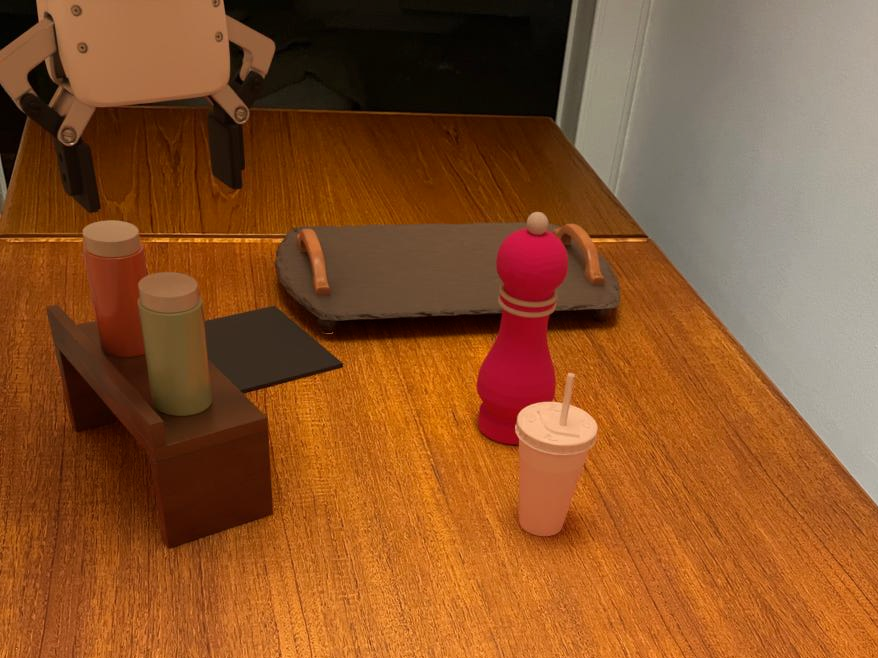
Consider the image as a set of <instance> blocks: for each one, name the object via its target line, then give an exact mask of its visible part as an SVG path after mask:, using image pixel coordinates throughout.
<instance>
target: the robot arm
mask: <svg viewBox="0 0 878 658" xmlns="http://www.w3.org/2000/svg"><path fill="white" fill-rule="evenodd" d="M35 1H36V9H37V17H38V22H37V23H36V24H34V25H33V26H31V27H30V28H29V29H28V30H27V31H25V32H24V33H22V34H21V35H19V36H18V37H17V38H15V39H14V40H12V41H11V42H9V44H8V45H6V46H4V48H2V49H0V85H1V87H2V88H3V89H4V91H5V92H6V93H7V95H8V96H9V97H10V99H11V100H12V101H13V103H14V105H15V106H16V107H17V108H18V109H19V110H20V111H21V112H22V113H24V114H25V115H26V116H27V117H28V118H29V119H31V120H32V121H33V122H35V123H36V125H38V126H40V127H41V128H42V129H44V131H46V132H47V133H48V134H50V135H51V136H52V140H53V145H54V150H55V155H56V160H57V166H58V170H59V176H60V181H61V185H62V188H63V190H64V192H65V194H66V195H68V196H69V197H72V198H73V199H74V201H75V202H76V203H77V204H78V205H79V206H81V208H83V209H84V210H85V211H86V212H87V213H88V214H95V213H98V212H99V210H101V209H102V207H101V206H102V205H101V200H100V194H99V188H98V182H97V177H96V171H95V166H94V161H93V160H94V159H93V154H92V153H93V152H92V150H91V149H92V148H91V146H90V145H89V144H88V143H87V142H86V141H84V140H83V137H82V135H83V133H84V132H85V129H86V127H87V126H88V124H89V122H90V120H91V118H92V116H93V115H94V113H95V112H96V109H97V108H113V107H124V106H133V105H143V104H151V103H161V102H168V101H170V102H171V101H177V100H186V99H194V98H201V97H204V98H205V99H206V100H207V101H208V102H209V104H210V105H211V106H212V111H209V112H208V113H207V117H206V126H207V135H208V136H207V137H208V146H209V147H208V148H209V157H210V166H211V173H212V175H213V177H214V178H215V179H217V180H218V181H220V182H221V183H222V184H224V185H225V186H227V187H228V188H229V189H232V190H233V191H237V190H241V189H243V176H242V175H243V174H242V171H244V170H245V169H246V159H245V158H246V157H245V156H246V155H245V143H244V142H245V141H244V130H243V125H244V124H246V123H247V122H248V120H249V119H250V109H251V108H252V107H253V105H254V104H255V103H256V101H257V99H259V96H260V95H261V94H262V92H263V91H264V89H265V85H266V83H265V81H266V80H265V77H266V75H268V72H269V71H270V70H269V69H270V67H271V63H272V62H273V61H272V60H273V58H274V55H275V52H276V43H275V41H273V39H271V38H269V37H268V36H266V35H264V34H262V33H260V32H258V31H257V30H255V29H253V28H251V27H249V26H248V25H246V24H244V23H242V22H241V21H239V20H237V19H235V18H233V17H231V16H229V15H227V14H226V10H225V3H224V0H35ZM230 42H231V43H233V44H235V45H237V46H239V47H240V48H241V49H242V51H243V58H242V65H241V67H239V69H237V71H236V72H235V74H234V76H233V77H232V78H231V54H230ZM44 61H45V66H46V70H47V73H48V76H49V78H50V79H51V81H52V82H53V83H54V84H56V85H57V86H58V87H57V89H56V90H55V92H54V94H53V96H52V98H51V99H50V101H49V104H48V103H46V102H45V101H43V100H42V99H41V98H40V97H39V96H38V94H37V92H36V91H35V90H34V89H33V87H32V86H31V84H30V82H29V80H28V79H29V78H28V75H29V72H31V71H32V70H33V69H35V68H36V67H37V66H39V65H40V64H41V63H43V62H44ZM230 78H231V80H230Z"/></svg>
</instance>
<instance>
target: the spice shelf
mask: <svg viewBox="0 0 878 658" xmlns="http://www.w3.org/2000/svg"><path fill="white" fill-rule="evenodd" d="M45 309H46V314H47V318H48V324H49V327H50V328H49V329H50V332H51V338H52V342H53V346H54V351H55V356H56V360H57V364H58V370H59V373H60V379H61V384H62V388H63V393H64V397H65V402H66V407H67V411H68V416H69V420H70V421H69V422H70V425H71V426H72V428H73V429H74V430H75V431H76V432H79V431H83V430H88V429H92V428H96V427H99V426H103V425H106V424H110V423H113V422H117V421H120V423H121V424H122V425H123V426H124V428H126V430H127V431H128V432H129V433H130V434H131V435H132V436H133V438H134V439H135V440H136V441H137V442H138V444H139V445H140V447H142V448H143V449H144V451H145V452H146V453H147V454H148V455H149V462H150V469H151V475H152V482H153V487H154V494H155V501H156V507H157V514H158V520H159V526H160V533H161V538H162V539H161V540H162V541H163V543H164V544H165V545H166V546H167V548H168V549H171V548H174V547H177V546H179V545H183V544H186V543H189V542H192V541H195V540H199V539H201V538H203V537H207V536H210V535H213V534H216V533H218V532H219V533H220V532H223V531H225V530H228V529H231V528H234V527H237V526H240V525H244V524H247V523H249V522H252V521H255V520H258V519H261V518H264V517H267V516H270V515H273V514H274V503H273V501H274V500H273V486H272V469H271V453H270V452H271V451H270V436H269V435H270V434H269V421H268V420H269V419H268V416H267V415H266V414H265V413H264V412H263V411H262V410H261V409H260V408H259V407H258V406H257V405H256V404H254V402H252V401H251V400H250V399H249V398H248V397H247V395H245V393H242V392H241V391H240V390H239V389H238V388H237V387H236V386H235V385H234V384H233V383H232V382H231V381H230V380H229V379H228V378H227V377H226V376H225V375H224V374H222V373H221V372H220V371H219V370H218V369H217V368H216V367H215V366H214V365H213V364H212V363H211V362H210V361H209V360H208V361H209V371H210V381H211V390H212V403H211V405H210V406H209V408H207V409H206V410H205V411H203V412H200V413H198V414H194V415H189V416H173V415H168V414H165V413H162V412H160V411H158V410H157V409H156V408H155V407H154V406H153V403H152V397H151V390H150V383H149V377H148V370H147V363H146V356H145V354H144V355H141V356H136V357H118V356H113V355H110V354H108V353H106V352H104V351H103V350H102V349H101V347H100V342H99V336H98V331H97V325H96V320H91V321H88V322H83V323H78V324H76V322H75V321H74V320H73V319H72V318H71V317H70V315H68V313H67V312H66V311H65V310H64V309H63V308H62V307H61V306H60V305H59V304H58V303H57V304H53V305H48V306H47V305H46V306H45Z"/></svg>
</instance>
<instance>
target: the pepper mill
mask: <svg viewBox="0 0 878 658" xmlns="http://www.w3.org/2000/svg"><path fill="white" fill-rule="evenodd" d="M526 222H527V224H526V225H527V228H525V229H520V230H518V231H515V232H513V233H512V234H510V235H509V236H508V237H506V239H505V240H504V241H503V242H502V244H501V246H500V248H499V251H498V254H497V260H496V268H497V273H498V275H499V277H500V279H501V280H502V282H503V283H502V284H501V286H500V288H499V292H500V295H499V298H498V303H499V305H500V306H501V308H502V313H501V319H500V324H499V330H498V333H497V336H496V339H495V341H494V343H493V344H492V346H491V347H490V349H489V351H488V353H487V354H486V356H485V358H484V359H483V361H482V363H481V365H480V368H479V370H478V375H477V380H476V392H477V394H478V398H479V399H480V400H481V404H480V405H479V410H478V417H477V418H478V419H477V425H478V429H479V430H480V432H481V433H482V434H483V435H484V436H485V437H487V438H488V439H490V440H492V441H494V442H497V443H499V444H503V445H511V446H519V438H518V436H517V434H516V431H515V426H516V423H517V417H518V414H519V413H520V411H521V410H523V409H524V408H525V407H527V406H529V405H532V404H535V403H541V402H554V398H555V396H556V387H557V379H556V372H555V366H554V364H553V360H552V359H553V358H552V356H551V352H550V347H549V344H548V325H549V324H548V323H549V319H550V316H551V314H553V313H554V312H555V311H554V310H555V309H556V303H555V302H556V300H557V297H558V294H557V291H556V290H555V289H556V288H557V287H559V286H560V285H561V283H562V282H563V281H564V279H565V277H566V274H567V270H568V254H567V251H566V248H565V246H564V245H563V243H562V241H561V240H560V239H559V238H558V237H557V236H556V235H554V234H552V233H551V232H548V231H546V230H547V228H548V223H549V220H548V217H547V215H546V214H545V213H544V212H541V211H534V212H532V213H531V214H530V215H529V216H528V218H527V220H526Z"/></svg>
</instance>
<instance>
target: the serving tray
mask: <svg viewBox="0 0 878 658" xmlns="http://www.w3.org/2000/svg"><path fill="white" fill-rule="evenodd" d="M526 224H527V221H526V222H525V221H524V222H523V221H519V222H518V221H517V222H515V221H514V222H471V223H415V224H414V223H412V224H411V223H405V224H378V223H377V224H376V223H375V224H364V225H361V224H360V225H342V226H336V225H320V226H317V225H316V226H307V225H306V226H297V227H293V228H291V229H289V231H287V232H286V234H285V236H284V237H283V239H282V240H281V242H280V243H279V245H278V246H277V250H276V252H275V257H276V258H275V259H274V260H275V261H274V262H273V265H274V268H275V272H276V276H277V277H278V281H279V284H280V285H282V287H283V288H284V289H285V291H286V293H288V295H290V297H291V298H293V299H294V301H295V302H296V303H298V304H299V305H301V307H303V308H304V309H306V310H307V311H308V312H309V313H311V314H312V315H313V316H314V317H316V318H317V319H316V320H317V321H316V325H317V328H318V329H319V331H320V332H321V331H322V332H324V333H332V332H334V333H335V331H336V330H337V328H338V326H339V322H341V321H357V320H358V321H362V320H363V321H365V320H385V319H405V318H406V319H407V318H410V319H414V318H425V317H454V316H480V315H499V314H501V315H502V308H501V306H500V305H499V303H498V298H499V295H500V292H499V288H500V286H501V284H502V283H503V282H502V280H501V279H500V277H499V275H498V273H497V268H496V260H497V254H498V251H499V248H500V246H501V244H502V242H503V241H504V240H505V239H506V237H508V236H509V235H510V234H512V233H513V232H515V231H518V230H520V229H525V228H527V225H526ZM546 231H548V232H551V233H552V234H554V235H556V236H557V237H558V238H559V239H560V240H561V241H562V243H563V245H564V246H565V248H566V251H567V254H568V270H567V274H566V277H565V279H564V281H563V282H562V283H561V285H560V286H559V287H557V288H556V289H555V290H556V291H557V294H558V297H557V300H556V302H555V303H556V309H555V310H554V312H569V311H588V310H591V314H592V316H593V320H594V321H596V322H598V323H605V322H607V320H608V319H609V318H610V316H611V315H612V309H616V308H618V307H619V305H620V302H621V300H622V299H621V284H620V281H619V278H618V276H617V275H616V274H615V272H614V269H613V268H612V266H611V263H610V262H609V261H608V260H607V259H606V257H605V256H604V255H603V254H601V253H600V252H599V251H598V249H597V247H596V244H595V243H594V241H593V240H592V237H591V236H590V235H589V234H588V233H587V231H585V229H584V228H583V227H581V226H580V225H578V224H577V223H566V224H564V225H563V226H560V225H557V224H553V223H550V222H548V228H547V230H546Z"/></svg>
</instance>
